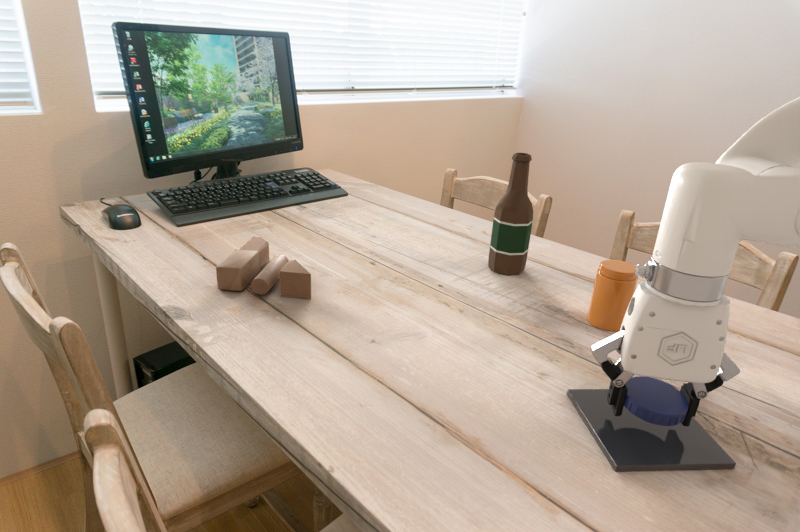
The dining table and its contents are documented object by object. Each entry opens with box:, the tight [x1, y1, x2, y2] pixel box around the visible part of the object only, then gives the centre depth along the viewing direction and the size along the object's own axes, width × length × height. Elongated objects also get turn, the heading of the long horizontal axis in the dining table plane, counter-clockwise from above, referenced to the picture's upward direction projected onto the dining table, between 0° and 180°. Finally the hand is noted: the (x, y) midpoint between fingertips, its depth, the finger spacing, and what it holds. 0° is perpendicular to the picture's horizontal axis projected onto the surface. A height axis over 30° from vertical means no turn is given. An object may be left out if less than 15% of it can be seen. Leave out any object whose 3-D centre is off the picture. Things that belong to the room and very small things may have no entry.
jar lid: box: [624, 375, 688, 426], centre depth 63 cm, size 7×7×2 cm
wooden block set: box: [215, 236, 312, 300], centre depth 99 cm, size 17×6×18 cm
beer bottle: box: [487, 152, 534, 276], centre depth 106 cm, size 8×8×24 cm
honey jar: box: [586, 259, 639, 332], centre depth 89 cm, size 6×6×10 cm
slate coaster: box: [566, 388, 737, 472], centre depth 65 cm, size 14×14×1 cm
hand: (648, 413), depth 64 cm, fingers closed on jar lid, 7 cm apart
